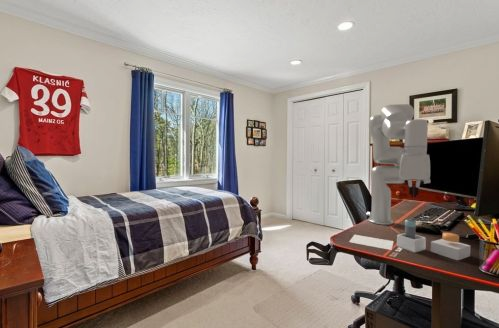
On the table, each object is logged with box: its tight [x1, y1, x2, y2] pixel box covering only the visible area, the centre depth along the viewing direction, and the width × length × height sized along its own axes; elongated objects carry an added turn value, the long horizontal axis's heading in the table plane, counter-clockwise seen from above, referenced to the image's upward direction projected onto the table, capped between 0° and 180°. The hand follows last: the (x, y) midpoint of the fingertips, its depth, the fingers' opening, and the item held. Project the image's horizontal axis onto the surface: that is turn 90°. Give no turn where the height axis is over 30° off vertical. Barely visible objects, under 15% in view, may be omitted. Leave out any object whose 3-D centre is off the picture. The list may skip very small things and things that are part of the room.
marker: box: [404, 218, 417, 240], centre depth 103 cm, size 4×4×11 cm
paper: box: [348, 234, 394, 251], centre depth 110 cm, size 16×12×1 cm
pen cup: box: [396, 232, 427, 254], centre depth 103 cm, size 7×7×5 cm
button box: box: [430, 238, 472, 261], centre depth 97 cm, size 9×9×4 cm
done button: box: [441, 232, 460, 243], centre depth 97 cm, size 5×5×2 cm
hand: (413, 196), depth 102 cm, fingers closed
